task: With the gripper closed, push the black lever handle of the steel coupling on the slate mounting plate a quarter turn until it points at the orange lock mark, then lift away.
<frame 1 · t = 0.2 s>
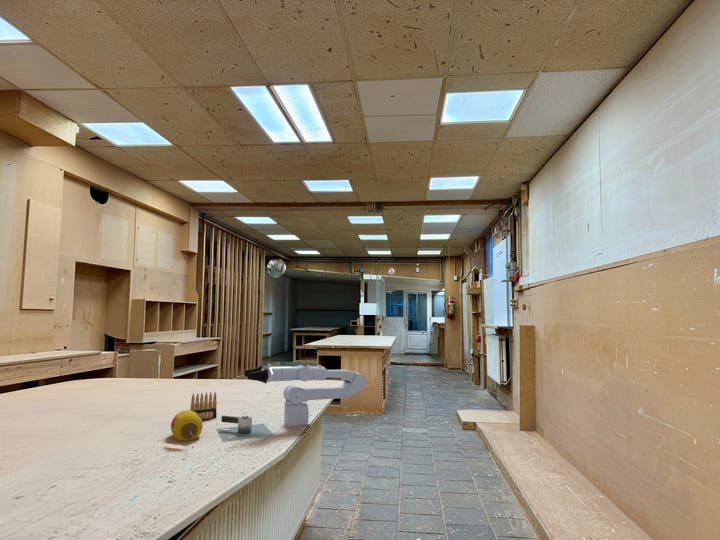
hand: (246, 374, 158), 22 cm above the workbench, tool horizontal, fingers open, 7 cm apart
mounting plate: (244, 435, 151), on the workbench
coupling: (236, 422, 153), point 4 cm above the workbench, hinge at 0.0°
lantern: (186, 440, 145), on the workbench
ammunition clip: (202, 422, 171), on the workbench
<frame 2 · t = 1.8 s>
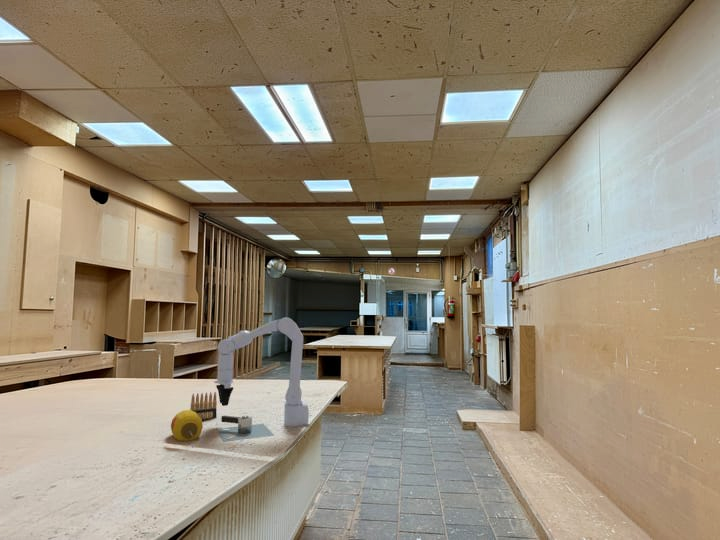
hand: (223, 404, 161), 9 cm above the workbench, tool pointing down, fingers open, 5 cm apart
nothing on the workbench moved.
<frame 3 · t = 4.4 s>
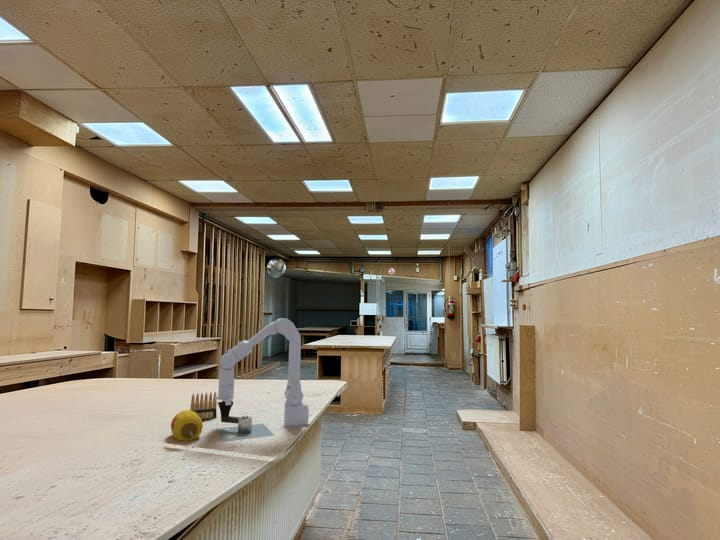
hand: (224, 420, 156), 4 cm above the workbench, tool pointing down, fingers closed, pressing on coupling
coupling: (236, 423, 153), point 4 cm above the workbench, hinge at 1.2°, touching gripper
everything else where it was.
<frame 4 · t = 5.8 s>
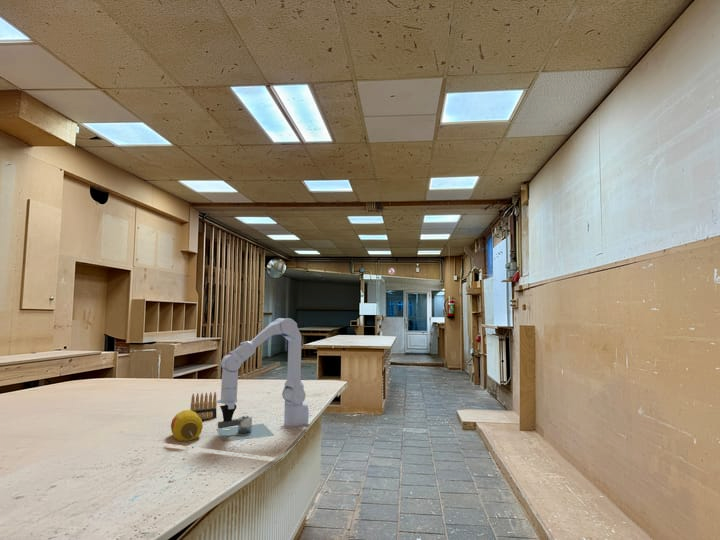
hand: (227, 425, 149), 4 cm above the workbench, tool pointing down, fingers closed, pressing on coupling
coupling: (235, 425, 149), point 4 cm above the workbench, hinge at 57.8°, touching gripper
everything else where it was.
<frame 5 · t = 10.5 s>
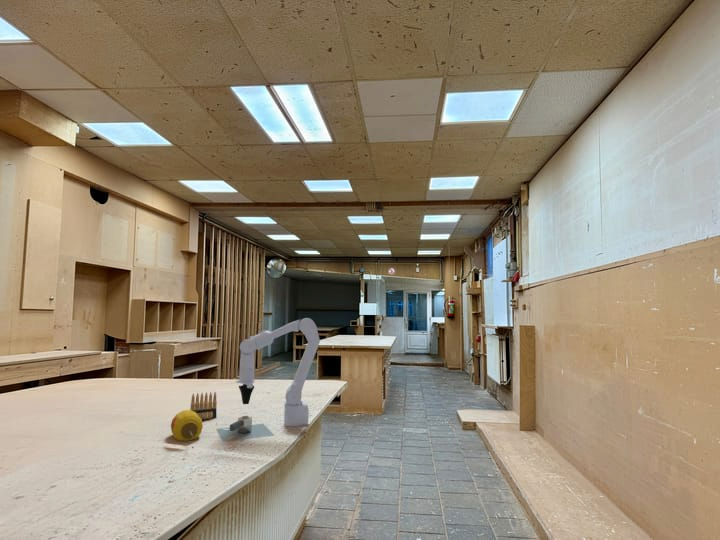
hand: (245, 403, 162), 9 cm above the workbench, tool pointing down, fingers closed
coupling: (240, 426, 148), point 4 cm above the workbench, hinge at 97.5°
everything else where it was.
at the end: coupling at +98° (first picture: +0°); ammunition clip moved 0.3 cm from its start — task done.
